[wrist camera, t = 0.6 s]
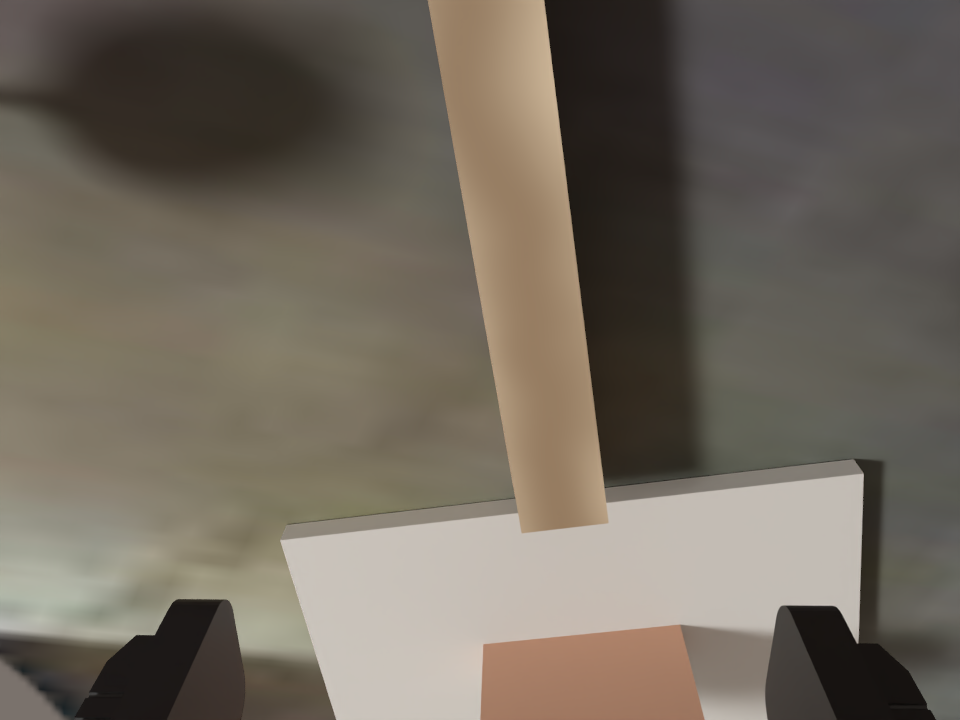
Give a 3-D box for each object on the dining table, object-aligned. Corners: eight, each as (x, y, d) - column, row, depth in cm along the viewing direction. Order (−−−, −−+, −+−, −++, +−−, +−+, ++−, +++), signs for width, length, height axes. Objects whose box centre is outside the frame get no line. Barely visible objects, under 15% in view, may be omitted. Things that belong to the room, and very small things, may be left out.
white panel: (853, 459, 32) (863, 473, 31) (844, 821, 40) (852, 840, 39) (286, 524, 34) (280, 540, 33) (387, 856, 42) (385, 875, 41)
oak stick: (523, -129, 24) (526, -146, 21) (597, 461, 33) (608, 523, 29) (421, -110, 25) (406, -123, 21) (520, 471, 33) (521, 533, 29)
